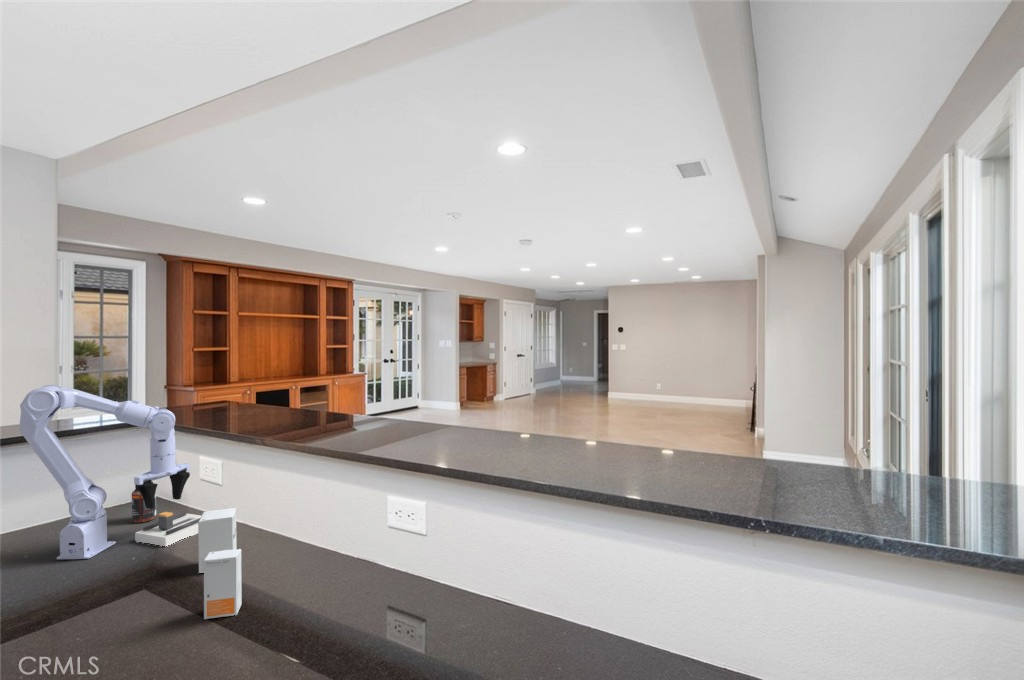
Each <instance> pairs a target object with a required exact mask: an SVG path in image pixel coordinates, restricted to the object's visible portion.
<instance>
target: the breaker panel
mask: <svg viewBox="0 0 1024 680" xmlns="http://www.w3.org/2000/svg"><path fill="white" fill-rule="evenodd" d="M201 516H202V514H201V515H200V514H194V513H187V512H186V511H184V512H181V513H178V514H175V515H173V528H171V529H168V530H164V529H159V521H157V522H155V523H153V524H150V525H147V526H144V527H142V529H141V530H139V531H136V532H135V534H134V538H135V539H134V542H135V541H136V542H135V543H139V542H142V543H141V544H144V543H150V544H155V545H154V546H156V545H160V546H159V547H162V546H165V547H164V548H167V547H169V546H168V545H170V546H172V545H174V544H176V543H175V542H177V541H179V540H181V539H184V538H186V539H188V538H190V537H189V536H191V537H193V536H195V535H198V522H199V520H200V518H201ZM187 537H188V538H187ZM184 540H185V539H184ZM181 541H182V540H181ZM179 542H180V541H179ZM173 543H174V544H173ZM177 543H178V542H177ZM150 544H149V545H150ZM171 544H172V545H171ZM166 546H167V547H166Z"/></svg>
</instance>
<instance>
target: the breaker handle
mask: <svg viewBox="0 0 1024 680" xmlns="http://www.w3.org/2000/svg"><path fill="white" fill-rule="evenodd" d="M173 516H174V514H173V512H169V511H164V512H161V513H158V522H159V529H164V530H168V529H171V528H173Z"/></svg>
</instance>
